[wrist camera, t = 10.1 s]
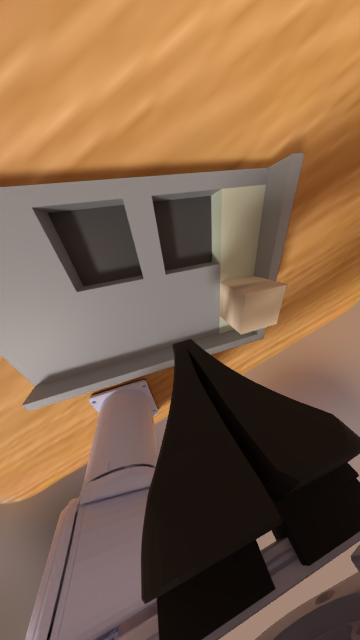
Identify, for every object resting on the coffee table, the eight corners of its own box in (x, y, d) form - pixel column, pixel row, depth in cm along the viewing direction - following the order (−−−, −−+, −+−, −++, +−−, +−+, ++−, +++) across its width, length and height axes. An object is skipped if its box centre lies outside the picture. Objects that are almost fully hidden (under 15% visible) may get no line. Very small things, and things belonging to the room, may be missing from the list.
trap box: (242, 323, 21) (263, 338, 18) (51, 377, 17) (29, 411, 13) (260, 176, 13) (304, 152, 9) (-108, 208, 8) (-270, 185, 5)
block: (248, 308, 17) (276, 324, 14) (219, 315, 17) (241, 334, 13) (253, 275, 15) (287, 284, 12) (220, 282, 14) (245, 294, 11)
